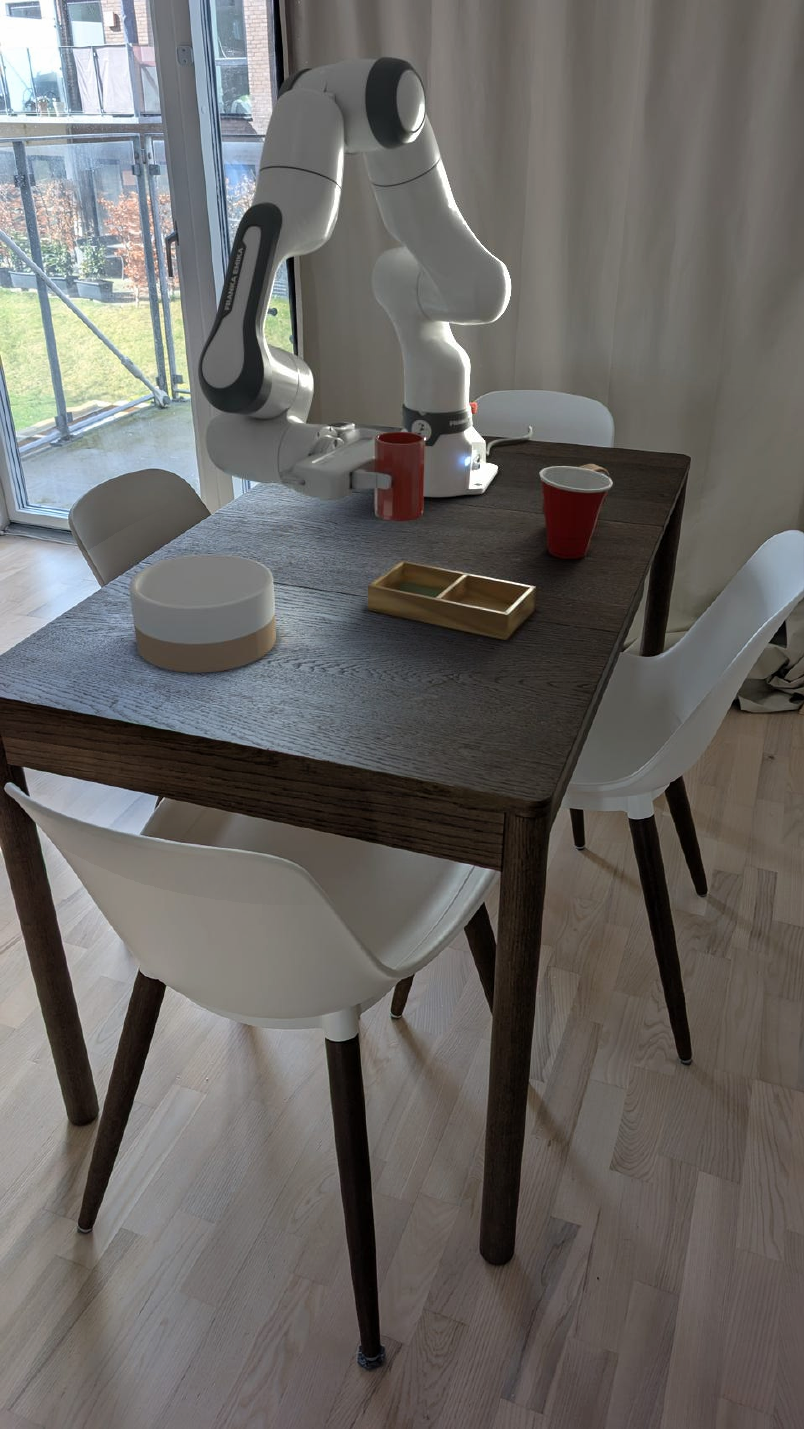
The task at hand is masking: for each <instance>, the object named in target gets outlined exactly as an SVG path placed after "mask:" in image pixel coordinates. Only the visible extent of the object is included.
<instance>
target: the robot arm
mask: <svg viewBox="0 0 804 1429" xmlns="http://www.w3.org/2000/svg"><path fill="white" fill-rule="evenodd" d="M262 144H263V145H262V150H261V156H260V160H259V168H258V175H257V181H256V187H255V192H254V196H253V199H252V202H251V205H250V207H249V208H248V209H246V211H245V212H244V213H243V215H242V217H241V219H240V221H239V224H238V226H237V229H236V231H235V235H234V239H233V243H232V247H231V249H230V250H231V251H230V255H229V260H228V262H227V263H228V264H227V267H226V272H225V277H224V280H223V285H222V290H221V293H220V298H219V301H218V302H219V303H218V307H217V310H216V314H215V319H214V322H213V324H212V327H211V330H210V332H209V335H208V337H207V339H206V341H205V343H204V345H203V347H202V350H201V353H200V356H199V359H198V364H197V377H198V383H199V387H200V390H201V392H202V394H203V396H204V398H205V399H206V400H207V402H208V403H209V404H210V405H211V406H212V407H213V408H215V409H217V410H219V411H220V413H218V414H217V415H216V416H214V417H213V418H211V420H210V421H209V422H208V425H207V427H206V431H205V447H206V451H207V454H208V457H209V459H210V461H211V462H212V463H213V465H214V466H215V467H216V468H217V469H218V470H220V471H221V472H223V473H224V474H227V475H228V476H232V477H235V478H238V479H241V480H244V481H248V482H249V481H250V482H254V483H259V484H276V483H277V484H280V485H282V486H283V487H286V488H288V489H293V490H294V491H295V492H296V493H298V494H300V495H301V494H302V495H304V496H309V497H312V498H316V499H319V500H320V499H321V500H325V501H339V500H341V499H344V497H346V496H348V495H350V494H352V493H354V492H356V491H357V490H369V489H375V488H382V489H389V488H390V487H392V486H393V485H394V478H395V476H394V474H393V473H390V472H384V471H382V472H380V473H378V472H375V437H376V436H377V435H379V434H381V433H386V432H387V431H380V430H375V429H370V428H360V427H358V428H357V427H355V424H354V423H353V422H348V421H341V422H334V423H327V424H321V423H307V422H308V419H309V416H310V413H311V408H312V405H313V400H314V397H315V391H316V390H315V388H316V385H315V384H316V383H315V378H314V373H313V371H312V369H311V367H310V366H309V364H308V363H307V362H306V361H305V360H304V359H303V358H302V357H301V356H298V355H297V354H295V353H292V352H290V351H287V350H285V349H283V348H282V347H278V346H274V345H272V344H270V343H268V341H267V338H266V335H265V325H266V321H267V316H268V311H269V307H270V304H271V299H272V294H273V290H274V285H275V281H276V277H277V274H278V271H279V269H280V268H281V266H282V265H283V263H284V262H286V260H288V259H289V258H293V257H299V256H305V255H308V254H311V253H313V252H315V251H317V250H319V249H320V248H321V247H322V246H324V245H325V244H326V243H327V242H328V241H329V240H330V239H331V237H332V235H333V232H334V229H335V226H336V224H337V220H338V215H339V211H340V205H341V196H342V189H343V181H344V180H343V179H344V167H345V156H354V155H358V154H361V153H362V155H363V159H364V160H363V161H364V164H365V168H366V171H367V175H368V178H369V181H370V185H371V187H372V192H373V193H374V197H375V200H376V204H377V207H378V209H379V213H380V216H381V218H382V221H383V224H384V226H385V228H386V230H387V232H388V234H390V235H391V237H393V238H394V239H395V241H397V242H398V243H400V244H401V245H402V246H398V247H393V248H387V249H386V250H384V251H383V252H382V253H381V254H380V255H379V256H378V258H377V260H376V262H375V264H374V266H373V269H372V272H371V273H372V274H371V288H372V292H373V296H374V298H375V299H376V302H377V303H378V304H379V305H380V306H381V307H382V308H383V310H384V311H385V312H386V314H387V315H388V317H389V319H390V321H391V323H392V325H393V328H394V329H395V332H396V335H397V339H398V341H399V345H400V348H401V353H402V357H403V358H402V361H403V372H404V373H403V377H404V378H403V379H404V380H403V381H404V382H403V386H404V389H403V390H404V403H403V404H402V405H401V412H400V418H401V427H402V429H401V430H400V431H399V432H411V433H417V434H420V435H422V436H424V437H425V469H424V498H425V497H427V498H448V497H457V496H464V495H481V494H484V493H485V491H487V490H486V489H487V488H488V487H489V485H490V484H491V482H492V481H493V479H494V478H495V476H496V475H497V474H498V466H497V465H495V464H493V463H490V462H488V461H487V457H489V455H490V450H491V448H492V447H493V446H495V445H496V446H497V445H501V444H511V443H513V444H514V443H522V442H526V441H528V440H530V439H531V438H532V436H533V428H532V427H531V426H528V427H527V435H524V436H521V437H520V436H519V437H514V438H513V437H512V438H502V439H495V440H492V441H489V442H488V443H487V444H486V440H484V438H483V437H482V436H481V435H480V434H479V433H478V432H477V431H476V429H475V428H474V427H473V424H474V423H473V422H474V421H473V415H476V414H477V411H478V404H477V402H469V398H470V374H471V363H470V358H469V356H468V354H467V353H466V351H465V350H464V349H463V348H462V347H461V346H460V345H459V344H458V343H457V342H456V340H455V338H454V336H453V334H452V331H451V328H450V324H455V325H461V326H473V325H474V326H475V325H485V324H491V323H493V322H495V321H497V320H498V319H499V318H500V317H501V315H503V313H504V312H505V310H506V308H507V306H508V304H509V301H510V297H511V290H512V284H511V278H510V275H509V274H510V273H509V272H508V269H507V266H506V265H505V264H504V263H503V262H502V261H501V260H499V259H498V258H497V257H495V256H494V255H493V254H492V253H491V252H489V251H488V250H487V249H486V248H485V247H484V245H482V244H481V242H480V241H479V240H478V239H477V237H476V236H475V234H474V233H473V232H472V230H471V229H470V227H469V226H468V224H467V222H466V221H465V219H464V218H463V216H462V214H461V212H460V211H459V208H458V205H457V204H456V202H455V199H454V197H453V193H452V191H451V187H450V184H449V181H448V180H449V179H448V177H447V174H446V170H445V166H444V163H443V159H442V155H441V152H440V148H439V145H438V141H437V139H436V136H435V133H434V129H433V127H432V125H431V122H430V118H429V117H428V114H427V93H426V88H425V84H424V82H423V79H422V78H421V76H420V74H419V73H418V71H417V70H416V69H415V68H414V66H413V65H412V64H411V63H410V62H408V61H407V60H404V59H402V58H397V57H393V56H392V57H389V56H382V57H379V58H378V59H377V58H376V59H375V58H356V59H354V58H353V59H345V60H343V59H342V60H341V61H339V62H335V63H330V64H325V65H322V66H319V67H315V68H309V67H308V68H307V67H306V68H303V69H300V70H298V71H296V72H294V73H293V74H290V75H288V76H287V78H285V80H284V81H283V82H282V83H281V86H280V88H279V91H278V93H277V97H276V100H275V103H274V106H273V109H272V112H271V114H270V117H269V121H268V125H267V128H266V132H265V136H264V141H263V143H262ZM486 461H487V462H486Z"/></svg>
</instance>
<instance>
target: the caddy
mask: <svg viewBox="0 0 804 1429" xmlns="http://www.w3.org/2000/svg"><path fill="white" fill-rule="evenodd" d="M536 591H537V586H534V585H528V584H524V583H519V582H513V581H509V580H503V579H499V578H498V579H497V578H493V577H489V576H488V577H487V576H483V575H477V574H473V573H467V572H463V571H459V570H458V571H457V570H452V569H447V568H442V567H437V566H431V565H428V564H427V565H426V564H421V563H416V562H412V561H407V560H401V561H399V562H398V563H397V564H396V565H394V566H393V567H392V568H390V569H388V570H387V571H386V572H384V573H383V574H381V576H379V577H378V578H376V579H375V580H374V581H372V582H370V584H367V610H368V611H372V612H375V613H380V614H384V615H389V616H394V617H399V618H403V619H406V620H407V619H408V620H412V621H416V622H422V623H426V624H430V625H435V626H439V627H444V628H449V629H453V630H458V631H461V632H468V633H472V634H476V635H480V636H484V637H490V638H493V639H499V640H504V641H506V640H508V638H510V636H511V635H512V634H514V633H515V631H517V629H519V627H520V626H521V625H522V624H523V623H524V622H525V621H526V620H527V619H528V618H529V617H530V616H532V615H531V614H533V613H534V612H535V604H536Z"/></svg>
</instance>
